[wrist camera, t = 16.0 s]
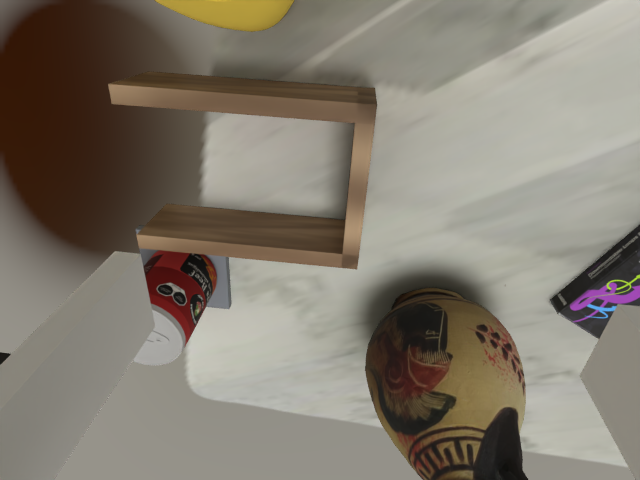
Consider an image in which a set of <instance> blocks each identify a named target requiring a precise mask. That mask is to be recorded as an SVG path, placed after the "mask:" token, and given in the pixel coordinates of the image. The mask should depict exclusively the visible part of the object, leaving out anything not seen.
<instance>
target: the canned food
mask: <svg viewBox="0 0 640 480" xmlns="http://www.w3.org/2000/svg"><path fill="white" fill-rule="evenodd" d="M143 268H144V273H145V278H146V283H147V288H148V293H149V298H150V303H151V308H152V313H153V317H154V322H155V327H154V329H153V331H152V332H151V334H150V335H149V337H148V338H147V340H146V341H145V343H144V344H143V346H142V347H141V349H140V350H139V352H138V353H137V355H136V356H135V358H134V359H133V361H134V362H137V363H140V364H146V365H164V364H167V363H170V362H172V361H174V360H175V359H176V358H177V357H178V356H179V355H180V353H181V352H182V351H183V349H184V347H185V345H186V344H187V342H188V340H189V338H190V336H191V335H192V333H193V331H194V329H195V327H196V325H197V323H198V321H199V319H200V317H201V315H202V313H203V311H204V310H205V308H206V306H207V304H208V302H209V300H210V298H211V296H212V294H213V292H214V290H215V288H216V284H217V274H216V270H215V268H214V265H213V264H212V262H211V261H210V260H209V259H208V258H207V257H206V256H205V255H204V254H194V253H183V252H173V251H163V250H159V251H157V252H156V253H155V254H154V255H153V256H152V257H151V258H150V259H149V261H148V262H147V263H146V264H145V265H144V266H143Z"/></svg>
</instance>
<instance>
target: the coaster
mask: <svg viewBox="0 0 640 480" xmlns="http://www.w3.org/2000/svg"><path fill="white" fill-rule="evenodd" d="M143 227H144V225H139V227H137V228H136V234H138V232H139V231H140V230H141V229H142V228H143ZM139 250H140V254H141V258H142V263H143V266H144V265H145V264H146V263H147V262H148V261H149V259H150V258H151V257H152V256H153V255H154V254H155V253H156V252H157V251H159V250H152V249H142V248H139ZM205 256H206V257H207V258H208V259H209V260H210V261H211V262H212V264H213V265H214V268H215V270H216V274H217V284H216V288H215V290H214V292H213V294H212V296H211V298H210V300H209V302H208V304H207V306H206V307H214V308H223V309H229V308H230V306H231V290H230V274H229V259H228V257H225V256H214V255H205Z"/></svg>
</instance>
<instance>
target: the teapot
mask: <svg viewBox="0 0 640 480" xmlns="http://www.w3.org/2000/svg"><path fill="white" fill-rule="evenodd" d="M155 1H156V2H157V3H159V4H161V5H163V6H165V7H167V8H169V9H172V10H174V11H176V12H178V13H180V14H182V15H185V16H187V17H189V18H191V19H194V20H197V21H200V22H203V23H206V24H210V25H213V26H217V27H221V28H227V29H233V30H241V31H250V32H253V31H261V30H265V29H268V28H270V27H272V26H274V25H275V24H277V23H278V22H279V21H280V20H281V19H282V18H283V17H284V16H285V14H286V13H287V11H288V10H289V8H290V7H291V5H292V4H293V2H294V0H155Z"/></svg>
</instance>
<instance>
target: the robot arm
mask: <svg viewBox="0 0 640 480" xmlns="http://www.w3.org/2000/svg"><path fill="white" fill-rule="evenodd" d="M154 327H155V322H154V317H153V313H152V308H151V303H150V298H149V293H148V288H147V283H146V278H145V273H144V268H143V263H142V258H141V254H136V253H126V252H116V251H115V252H114V253H113V254H112V255H111V256H110V257H109V258H108V259H107V260H106V261H105V262H104V263H103V264H102V265H101V266H100V267H99V268H98V269H97V270H96V271H95V272H94V273H93V274H92V275H91V276H90V277H89V278H88V279H87V280H86V281H85V282H84V283H83V284H82V285H81V286H79V287H78V289H76V290H75V292H73V294H72V295H70V296H69V298H67V299H66V300H65V301H64V303H62V304H61V306H59V308H58V309H56V310H55V311H54V312H53V313H52V314H51V315H50V316H49V317H48V318H47V319H46V320H45V321H44V322H43V323H42V324H41V325H40V326H39V327H38V328H37V329H36V330H35V331H34V332H33V333H32V334H31V335H30V336H29V337H28V338H27V339H26V340H25V341H24V342H23V343H22V344H21V345H20V346H19V347H18V348H17V349H16V350H15V351H14V352H13V353H12V354H8V353H0V480H54V479H55V478H56V476H57V475H58V473H59V472H60V470H61V469H62V467H63V466H64V464H65V463H66V461H67V460H68V458H69V457H70V455H71V454H72V452H73V450H74V449H75V447H76V446H77V444H78V443H79V441H80V440H81V438H82V437H83V435H84V434H85V432H86V431H87V429H88V428H89V426H90V425H91V423H92V421H93V420H94V418H95V417H96V416H97V414H98V413H99V411H100V409H101V408H102V406H103V405H104V403H105V402H106V400H107V399H108V397H109V396H110V394H111V393H112V391H113V390H114V388H115V387H116V385H117V384H118V382H119V381H120V379H121V377H122V376H123V375H124V373H125V371H126V370H127V368H128V367H129V365H130V364H131V362H132V361H133V359H134V358H135V356H136V355H137V353H138V352H139V350H140V349H141V347H142V346H143V344H144V343H145V341H146V340H147V338H148V337H149V335H150V334H151V332H152V331H153V329H154ZM580 378H581V380H582V381H583V383H584V385H585V387H586V389H587V391H588V393H589V394H590V396H591V398H592V400H593V402H594V404H595V406H596V407H597V409H598V411H599V413H600V415H601V417H602V419H603V420H604V422H605V424H606V426H607V428H608V430H609V432H610V433H611V435H612V437H613V439H614V441H615V443H616V445H617V446H618V448H619V450H620V452H621V454H622V456H623V457H624V459H625V461H626V463H627V465H628V467H629V469H630V470H631V472H632V474H633V476H634V478H635V480H640V306H631V305H622V304H618V305H617V307H616V309H615V311H614V312H613V314H612V316H611V318H610V320H609V322H608V324H607V326H606V327H605V329H604V331H603V333H602V335H601V337H600V339H599V341H598V342H597V344H596V346H595V348H594V350H593V352H592V354H591V356H590V357H589V359H588V361H587V363H586V365H585V367H584V369H583V371H582V372H581V374H580Z"/></svg>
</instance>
